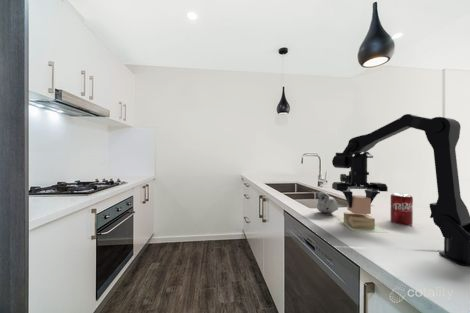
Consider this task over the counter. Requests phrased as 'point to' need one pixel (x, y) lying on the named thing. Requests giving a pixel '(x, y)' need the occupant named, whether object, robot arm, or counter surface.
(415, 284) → the counter surface
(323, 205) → the grey rounded lump
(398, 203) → the soda can
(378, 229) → the build plate
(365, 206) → the terracotta block
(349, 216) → the oak block
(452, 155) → the robot arm
